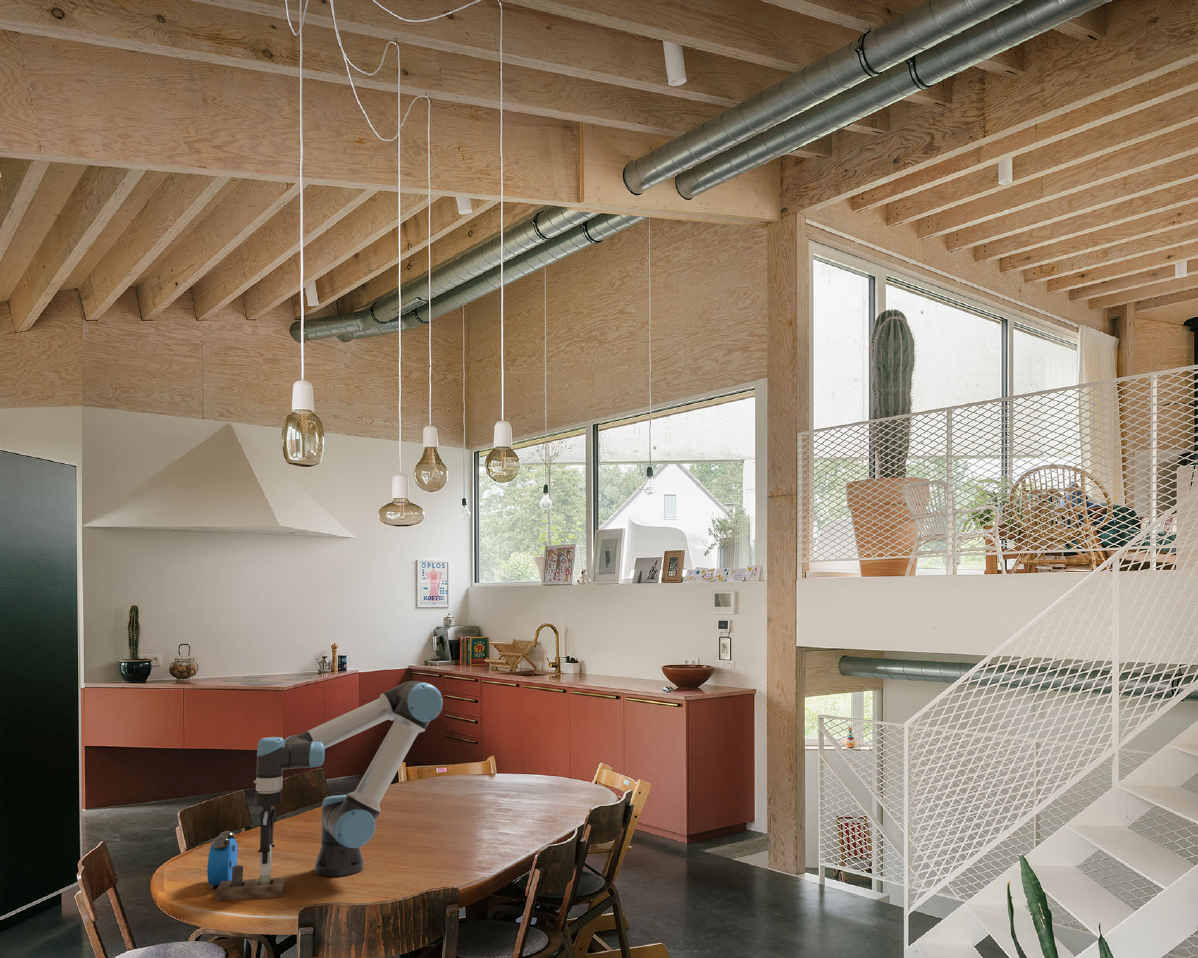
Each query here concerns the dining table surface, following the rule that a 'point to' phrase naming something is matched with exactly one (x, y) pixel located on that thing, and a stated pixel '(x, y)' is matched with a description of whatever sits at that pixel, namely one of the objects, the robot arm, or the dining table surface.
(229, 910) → the dining table surface
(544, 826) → the dining table surface
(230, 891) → the walnut holder
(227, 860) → the alarm clock
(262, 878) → the sage candle
